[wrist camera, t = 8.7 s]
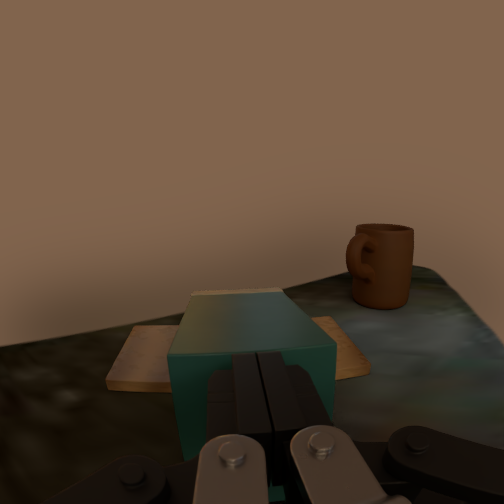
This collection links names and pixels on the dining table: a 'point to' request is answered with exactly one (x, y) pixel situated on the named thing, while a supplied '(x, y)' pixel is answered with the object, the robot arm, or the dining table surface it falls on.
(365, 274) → the mug
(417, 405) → the dining table surface
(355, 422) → the dining table surface
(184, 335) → the carton
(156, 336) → the cork mat
